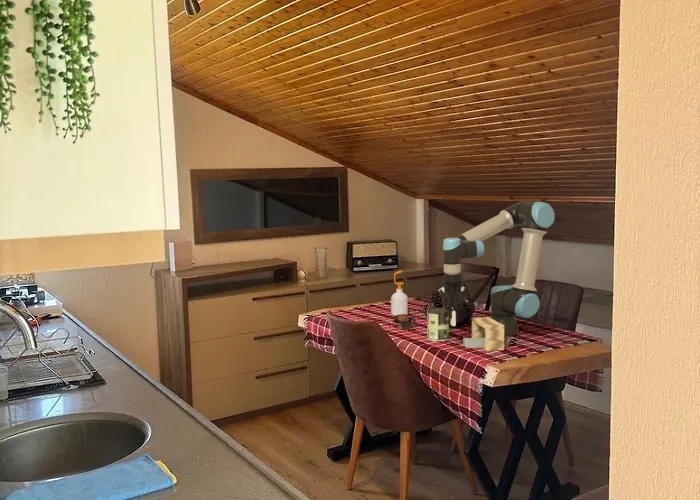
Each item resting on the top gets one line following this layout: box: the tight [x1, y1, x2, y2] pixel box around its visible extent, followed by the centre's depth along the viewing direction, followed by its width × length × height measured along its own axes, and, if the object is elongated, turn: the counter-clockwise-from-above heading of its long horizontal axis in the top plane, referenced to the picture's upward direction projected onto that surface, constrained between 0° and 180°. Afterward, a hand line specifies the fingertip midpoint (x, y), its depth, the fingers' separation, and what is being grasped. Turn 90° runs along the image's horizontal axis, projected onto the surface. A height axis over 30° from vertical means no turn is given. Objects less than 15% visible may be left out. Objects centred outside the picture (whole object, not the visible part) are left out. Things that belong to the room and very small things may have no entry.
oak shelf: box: [471, 316, 510, 352], centre depth 304 cm, size 12×18×11 cm, turn 11°
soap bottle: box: [390, 270, 409, 317], centre depth 371 cm, size 9×9×25 cm
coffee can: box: [426, 307, 450, 342], centre depth 316 cm, size 10×10×14 cm
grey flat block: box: [462, 337, 485, 348], centre depth 304 cm, size 14×7×3 cm, turn 89°
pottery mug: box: [392, 314, 417, 331], centre depth 340 cm, size 12×10×8 cm
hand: (453, 325), depth 300 cm, fingers closed
